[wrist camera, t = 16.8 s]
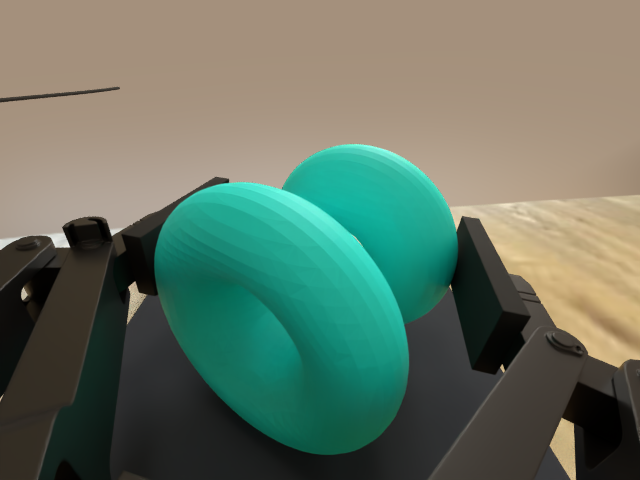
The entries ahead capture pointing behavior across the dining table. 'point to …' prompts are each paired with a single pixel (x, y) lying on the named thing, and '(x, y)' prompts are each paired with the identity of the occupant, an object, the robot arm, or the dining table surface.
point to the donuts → (308, 292)
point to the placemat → (263, 451)
